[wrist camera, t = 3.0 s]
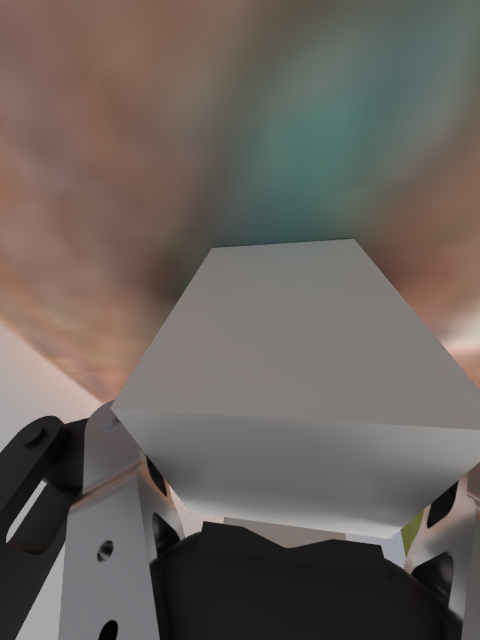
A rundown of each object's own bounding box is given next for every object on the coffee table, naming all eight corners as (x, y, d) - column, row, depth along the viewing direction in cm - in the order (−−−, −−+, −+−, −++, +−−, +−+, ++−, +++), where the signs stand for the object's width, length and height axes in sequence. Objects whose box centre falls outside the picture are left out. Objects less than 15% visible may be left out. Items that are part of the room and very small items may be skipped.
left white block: (211, 247, 10) (109, 408, 4) (353, 238, 9) (513, 432, 3) (229, 345, 14) (190, 512, 8) (334, 346, 13) (389, 539, 7)
